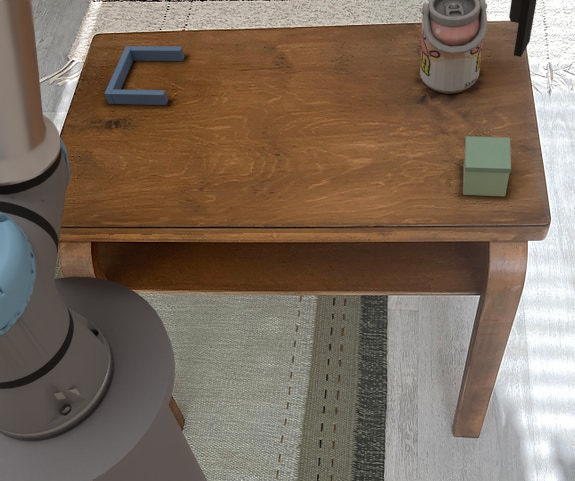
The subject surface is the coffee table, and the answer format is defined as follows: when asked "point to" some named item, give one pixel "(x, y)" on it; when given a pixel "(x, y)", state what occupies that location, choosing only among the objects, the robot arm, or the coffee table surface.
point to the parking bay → (122, 69)
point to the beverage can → (452, 43)
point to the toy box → (486, 166)
